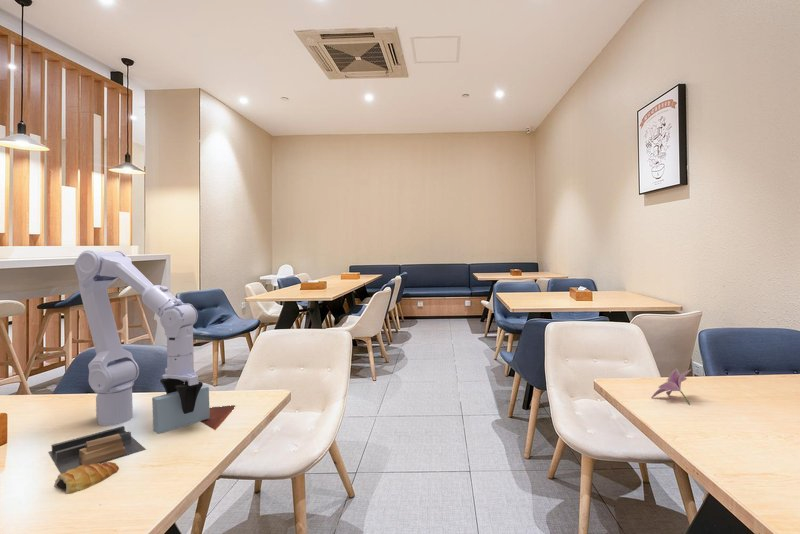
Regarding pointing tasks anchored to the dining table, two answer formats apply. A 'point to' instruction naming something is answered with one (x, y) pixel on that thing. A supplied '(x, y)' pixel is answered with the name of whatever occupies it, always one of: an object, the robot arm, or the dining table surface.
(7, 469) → the dining table surface
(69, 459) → the metal plate
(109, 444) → the offcuts
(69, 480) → the pastry
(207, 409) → the pale blue upright panel
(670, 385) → the lily
